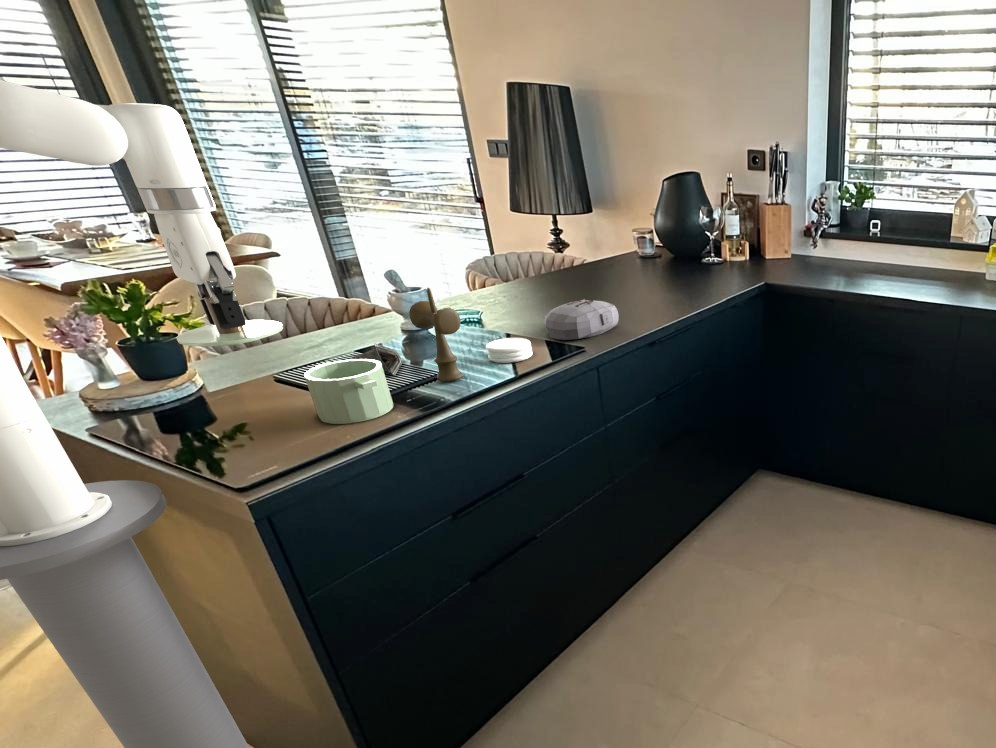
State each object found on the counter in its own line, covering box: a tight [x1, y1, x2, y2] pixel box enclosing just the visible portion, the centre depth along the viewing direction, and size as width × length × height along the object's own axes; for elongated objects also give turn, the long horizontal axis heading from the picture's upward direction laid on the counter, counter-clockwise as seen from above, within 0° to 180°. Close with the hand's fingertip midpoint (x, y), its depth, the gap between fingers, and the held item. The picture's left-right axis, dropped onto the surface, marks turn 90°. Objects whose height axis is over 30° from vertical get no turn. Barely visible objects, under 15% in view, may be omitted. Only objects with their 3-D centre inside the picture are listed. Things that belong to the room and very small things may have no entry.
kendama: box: [408, 287, 464, 383], centre depth 132 cm, size 6×10×20 cm, turn 58°
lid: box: [176, 296, 284, 347], centre depth 98 cm, size 13×13×7 cm
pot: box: [304, 359, 394, 425], centre depth 118 cm, size 12×17×8 cm
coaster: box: [485, 337, 533, 364], centre depth 150 cm, size 10×10×4 cm
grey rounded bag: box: [543, 298, 620, 341], centre depth 168 cm, size 15×8×20 cm
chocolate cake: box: [351, 342, 403, 376], centre depth 139 cm, size 10×7×12 cm
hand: (228, 323), depth 98 cm, fingers closed on lid, 3 cm apart
